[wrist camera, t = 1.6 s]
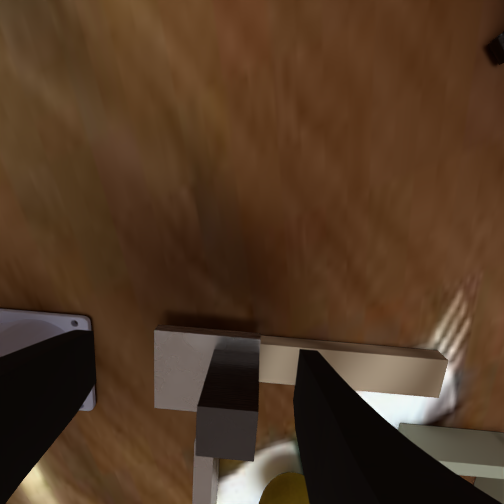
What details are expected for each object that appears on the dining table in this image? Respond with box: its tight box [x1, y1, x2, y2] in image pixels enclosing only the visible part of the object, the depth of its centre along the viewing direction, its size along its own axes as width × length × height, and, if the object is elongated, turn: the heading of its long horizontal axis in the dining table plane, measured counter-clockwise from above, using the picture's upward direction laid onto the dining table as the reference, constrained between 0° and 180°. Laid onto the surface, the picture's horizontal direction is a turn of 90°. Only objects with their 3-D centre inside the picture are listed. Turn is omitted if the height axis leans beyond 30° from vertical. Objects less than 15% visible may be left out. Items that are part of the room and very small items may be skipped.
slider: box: [154, 325, 261, 504], centre depth 19 cm, size 7×16×7 cm, turn 176°
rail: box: [259, 335, 448, 398], centre depth 21 cm, size 18×3×1 cm, turn 86°
